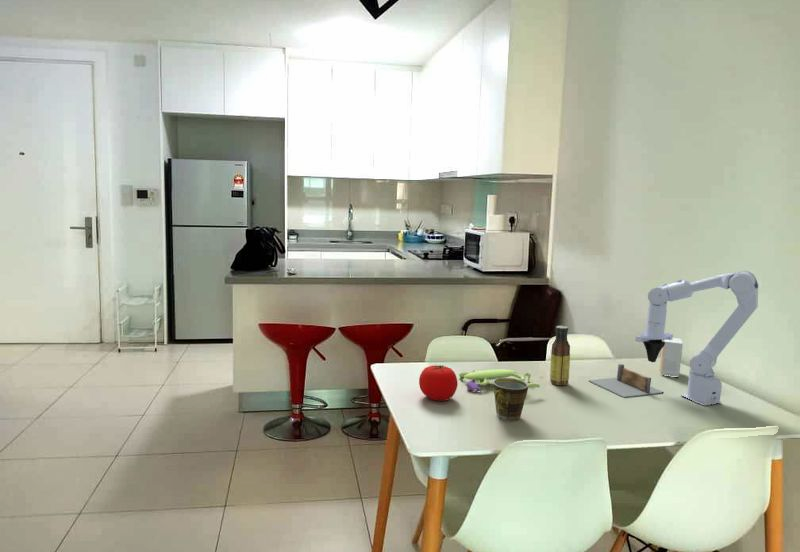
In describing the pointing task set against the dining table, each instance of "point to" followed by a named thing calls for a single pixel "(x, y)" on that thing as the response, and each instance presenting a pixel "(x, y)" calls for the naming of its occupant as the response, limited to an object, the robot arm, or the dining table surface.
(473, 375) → the figurine
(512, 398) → the ceramic cup
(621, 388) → the gate frame
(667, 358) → the small box
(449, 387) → the tomato
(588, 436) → the dining table surface
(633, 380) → the board
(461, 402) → the dining table surface
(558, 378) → the sauce bottle
